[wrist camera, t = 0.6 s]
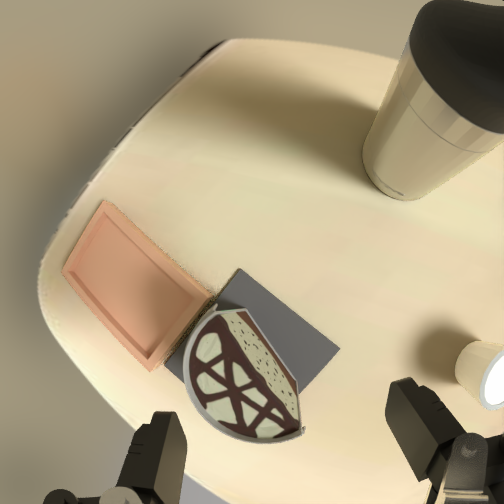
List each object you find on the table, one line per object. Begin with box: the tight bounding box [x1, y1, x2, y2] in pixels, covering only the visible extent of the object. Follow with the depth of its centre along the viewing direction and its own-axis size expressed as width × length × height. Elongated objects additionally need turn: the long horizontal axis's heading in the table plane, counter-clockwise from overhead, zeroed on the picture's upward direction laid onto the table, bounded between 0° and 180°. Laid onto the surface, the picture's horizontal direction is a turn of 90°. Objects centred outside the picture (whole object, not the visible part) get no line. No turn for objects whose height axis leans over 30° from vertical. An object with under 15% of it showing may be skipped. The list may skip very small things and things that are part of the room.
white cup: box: [455, 341, 504, 410], centre depth 22 cm, size 7×7×7 cm
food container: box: [183, 303, 306, 444], centre depth 24 cm, size 12×6×10 cm, turn 35°
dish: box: [61, 200, 213, 372], centre depth 31 cm, size 11×17×2 cm, turn 51°
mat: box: [164, 269, 340, 394], centre depth 30 cm, size 14×13×1 cm
